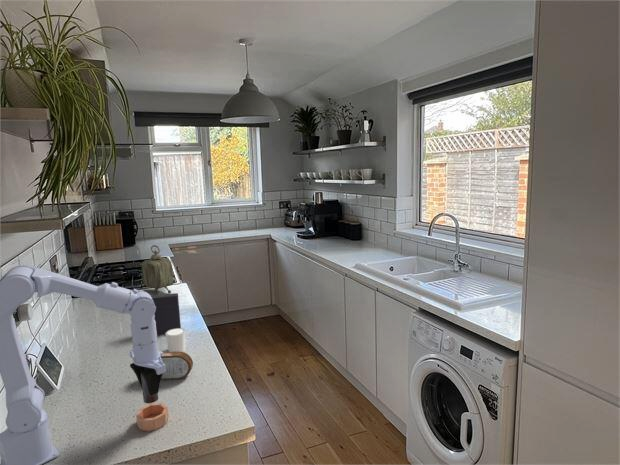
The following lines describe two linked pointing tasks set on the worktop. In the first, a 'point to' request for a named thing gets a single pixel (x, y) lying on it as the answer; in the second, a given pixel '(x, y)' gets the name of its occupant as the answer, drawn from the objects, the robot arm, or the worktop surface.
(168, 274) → the tabletop clock
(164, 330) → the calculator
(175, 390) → the worktop surface
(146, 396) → the cell
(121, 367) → the worktop surface
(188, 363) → the tin
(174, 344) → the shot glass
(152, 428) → the cup
